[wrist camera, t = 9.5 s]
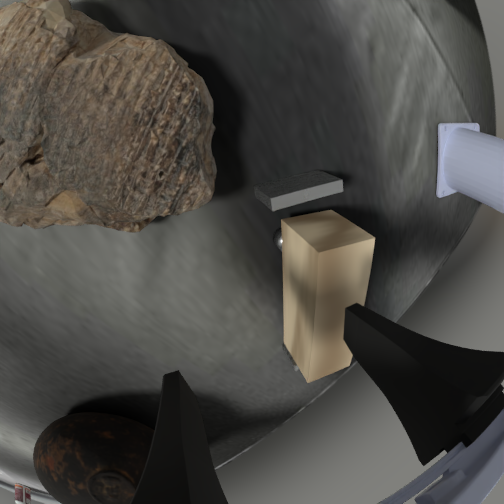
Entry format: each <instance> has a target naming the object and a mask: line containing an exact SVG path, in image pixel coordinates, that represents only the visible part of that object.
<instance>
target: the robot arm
mask: <svg viewBox="0 0 504 504" xmlns="http://www.w3.org/2000/svg"><path fill="white" fill-rule="evenodd" d="M455 192H460V193H462V194H465V195H467V196H469V197H471V198H473V199H475V200H477V201H480V202H482V203H484V204H486V205H488V206H490V207H492V208H494V209H496V210H498V211H499V212H502V213H503V214H504V139H501V138H498V137H495V136H492V135H488V134H485V133H481V132H479V124H478V123H440V124H439V125H438V173H437V190H436V195H437V197H439V198H441V197H444V196H447V195H450V194H452V193H455ZM343 340H344V341H345V343H346V345H347V346H348V348H349V350H350V351H351V353H352V355H353V356H354V358H355V359H356V360H357V361H358V363H359V364H360V365H361V366H362V368H363V369H364V370H365V371H366V373H367V374H368V375H369V376H370V377H371V378H372V380H373V381H374V382H375V384H376V385H377V386H378V387H379V388H380V390H381V391H382V392H383V394H384V395H385V396H386V398H387V399H388V401H389V403H390V404H391V406H392V407H393V409H394V411H395V412H396V414H397V416H398V417H399V419H400V421H401V423H402V425H403V427H404V428H405V430H406V432H407V434H408V436H409V438H410V440H411V442H412V445H413V447H414V449H415V451H416V454H417V456H418V459H419V461H420V462H421V463H422V465H423V466H424V465H426V464H427V463H428V462H430V461H431V460H432V459H433V458H435V457H436V456H437V455H439V454H440V453H441V452H442V451H443V450H445V451H446V452H447V454H446V455H445V456H444V457H442V458H441V459H440V460H439V461H438V462H437V463H435V464H434V465H433V466H431V467H430V468H429V469H428V470H426V471H425V472H424V473H423V474H421V475H420V476H418V477H417V478H416V479H414V480H413V481H412V482H410V483H409V484H407V485H406V486H404V487H403V488H401V489H400V490H398V491H397V492H395V493H394V494H392V495H391V496H389V497H388V498H386V499H384V500H383V501H381V502H379V503H378V504H403V503H404V502H406V501H407V500H409V499H410V498H411V497H413V496H414V495H416V494H417V493H419V492H420V491H421V490H423V489H424V488H425V487H426V486H428V485H429V484H431V483H432V482H433V481H434V480H436V479H437V478H438V477H439V476H440V475H442V474H443V477H442V478H441V479H440V480H438V481H437V482H435V483H434V484H432V485H431V486H429V487H428V488H427V489H425V490H424V491H423V492H422V493H421V494H419V495H418V496H417V497H416V498H415V501H416V504H481V503H482V502H483V500H484V499H485V498H486V497H487V495H488V494H489V493H490V491H491V490H492V489H493V488H494V486H495V485H496V484H497V482H498V481H499V479H500V478H501V477H502V475H503V473H504V393H503V392H502V391H503V389H504V387H503V386H502V385H501V383H502V381H503V380H504V352H493V351H480V350H473V349H467V348H462V347H458V346H454V345H450V344H446V343H443V342H440V341H437V340H434V339H431V338H428V337H425V336H423V335H420V334H418V333H416V332H413V331H411V330H409V329H407V328H405V327H402V326H400V325H398V324H396V323H394V322H392V321H390V320H389V319H387V318H385V317H383V316H381V315H379V314H377V313H375V312H373V311H372V310H370V309H368V308H366V307H364V306H362V305H360V304H359V303H355V304H353V305H350V306H348V307H346V308H345V319H344V334H343ZM130 504H228V502H227V500H226V497H225V495H224V493H223V490H222V488H221V485H220V483H219V480H218V478H217V475H216V472H215V469H214V466H213V463H212V459H211V454H210V450H209V446H208V441H207V437H206V432H205V427H204V423H203V418H202V415H201V412H200V408H199V405H198V402H197V399H196V396H195V395H194V393H193V392H192V390H191V389H190V387H189V386H188V384H187V383H186V381H185V380H184V378H183V376H182V375H181V373H180V372H179V370H178V371H175V372H172V373H168V374H165V375H164V376H163V383H162V391H161V398H160V405H159V410H158V416H157V421H156V427H155V431H154V435H153V440H152V444H151V448H150V452H149V455H148V458H147V462H146V465H145V468H144V471H143V474H142V476H141V479H140V482H139V484H138V487H137V489H136V491H135V494H134V496H133V498H132V500H131V502H130Z"/></svg>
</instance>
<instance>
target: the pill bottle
mask: <svg viewBox="0 0 504 504" xmlns="http://www.w3.org/2000/svg"><path fill="white" fill-rule="evenodd" d="M15 501H16V503H17V504H31V496H30V488H28V487H26V486H24V485H21V484H18V483H16V484H15Z"/></svg>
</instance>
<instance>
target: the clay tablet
mask: <svg viewBox="0 0 504 504" xmlns="http://www.w3.org/2000/svg"><path fill="white" fill-rule="evenodd" d="M187 66H188V63H187V62H186V61H185V60H184V59H182V58H181V57H180V56H179V55H178V54H177V53H176V52H175V50H174V49H173V48H172V47H171V46H170V45H168V44H167V43H166V42H164V41H163V40H161V39H159V40H155V39H153V38H151V37H142V36H136V35H131V34H129V33H125V34H124V33H114V32H112V31H110V30H108V29H107V28H106V27H105V26H104V25H103V24H101V23H100V22H98V21H96V20H92V19H91V18H90V17H88V16H87V15H86V14H84V13H83V12H81V11H78V10H73V9H72V8H71V4H70V2H69V0H23V1H21V2H16V1H15V2H14V3H13V4H11V5H7V6H4V7H1V8H0V221H1V222H3V223H6V224H9V225H11V226H16V227H19V226H22V224H23V223H24V224H26V225H28V226H30V227H32V228H34V229H39V228H43V229H44V228H46V227H48V226H51V225H54V224H58V225H67V226H81V225H83V224H96V225H99V226H103V227H108V228H113V229H116V230H120V231H126V232H140V231H141V230H142V229H143V228H144V227H146V226H147V225H148V224H149V223H150V222H151V221H152V220H153V219H154V218H156V217H157V216H166V215H168V214H169V215H179V214H181V213H183V212H187V211H191V210H194V209H198V208H200V207H201V206H203V205H204V204H206V203H208V202H209V201H211V199H212V196H213V193H214V191H215V186H214V183H215V178H216V174H217V168H216V164H215V159H214V157H213V155H212V150H211V141H212V136H213V133H214V131H215V126H214V125H213V123H212V121H213V99H212V97H211V95H210V93H209V91H208V89H207V87H206V84H205V82H204V80H203V78H202V77H201V76H199V75H198V74H197V73H195V72H194V70H191V69H189V68H188V67H187Z"/></svg>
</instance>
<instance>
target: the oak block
mask: <svg viewBox="0 0 504 504" xmlns="http://www.w3.org/2000/svg"><path fill="white" fill-rule="evenodd" d="M281 227H282V258H283V302H284V344H285V345H286V347H287V349H288V350H289V352H290V354H291V356H292V357H293V359H294V361H295V362H296V364H297V366H298V367H299V369H300V371H301V372H302V374H303V376H304V377H305V379H306V381H307V382H308V383H309V382H312V381H314V380H317V379H319V378H322V377H324V376H326V375H329V374H331V373H333V372H336V371H338V370H340V369H343V368H345V367H347V366H349V365H350V362H351V358H352V353H351V351H350V350H349V348H348V346H347V345H346V343H345V341H344V340H343V334H344V319H345V308H346V307H348V306H350V305H353V304H355V303H359V304H360V305H362V306H364V303H365V298H366V293H367V288H368V282H369V276H370V271H371V264H372V258H373V251H374V244H375V237H373V236H372V235H370V234H369V233H367V232H366V231H364V230H363V229H361V228H360V227H358V226H356V225H355V224H353V223H352V222H350V221H349V220H347V219H346V218H344V217H342V216H341V215H339V214H338V213H336V212H334V211H333V210H327V211H322V212H316V213H311V214H306V215H301V216H295V217H290V218H285V219H281Z"/></svg>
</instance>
